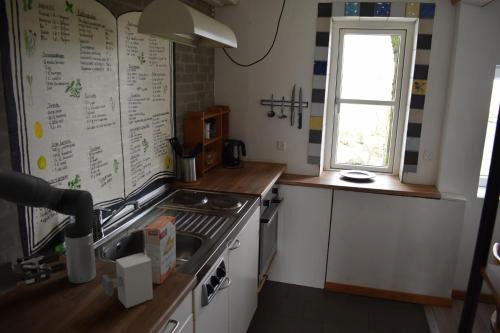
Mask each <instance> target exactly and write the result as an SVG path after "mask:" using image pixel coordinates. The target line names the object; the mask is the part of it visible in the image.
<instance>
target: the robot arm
mask: <svg viewBox="0 0 500 333" xmlns="http://www.w3.org/2000/svg"><path fill="white" fill-rule="evenodd" d="M0 200H3V201H6V202H9V203H12V204H16V205H18V206H19V205H20V206H24V207H28V208H34V209H35V208H36V209H40V208H41V209H42V208H44V209H47V210H51V211H54V212H56V213H58V214H61V215H63V216H69V217H70V216H71V217H74V222H71V223H69V224H67V225H65V226H64V228H63V233H64V245H65V256H66V262H64V261H63V262H59V261H60V259H61V258H60V254H59V253H52V254H50V255H45V256H44V255H41V254H40V253H38V254H32V255H27V256H24V257H23V256H22V257H18V258H16V260H15V261H16V262H15V263H16V264H15V263H13V261H12V260H6V261H2V262H0V293H1V294H2V293H3V292H7V291H12V290H14V289H16V288H17V286H18V283H21V282H25V286H26V287H31V286H33V285H37V284H39V283H43V282H46V281H49V280H51V278H52V277H51V276H53V274H57V273H61V272H64V271H66V270H67V276H68V281H69V282H70V283H72V284H84V283H87V282H90V281H92V280H93V279H95V277H96V276H97V272H96V271H97V270H96V259H95V246H94V232H93V228H94V223H95V222H94V219H95V218H94V198H93V195H92V194H91V192H90V191H88V190H86V189H85V190H83V189H75V188H61V187H56V186H52V185H51V184H50V182H48V181H47V180H45V179H44V178H42V177H39V176H36V175H33V174H29V173H25V172H22V171H16V170H12V169H9V168H3V167H0ZM57 262H59V263H57ZM52 263H56V264H52ZM49 264H52V265H49ZM45 265H46V266H45ZM47 265H48V266H47Z"/></svg>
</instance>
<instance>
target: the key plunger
mask: <svg viewBox="0 0 500 333" xmlns="http://www.w3.org/2000/svg"><path fill="white" fill-rule="evenodd" d="M101 278H102V280H101V281H102V290H103V292H104V293H105V294H106V295H107V297H108V298H109V297H112V296H114V289H115V288H118V286H121V285H123V279H122V278H121V277H118V278H117V277H115V278H111V277H110V276H109V275H108V274H107V273H106V274H104V275H101Z"/></svg>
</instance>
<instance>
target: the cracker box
mask: <svg viewBox="0 0 500 333" xmlns="http://www.w3.org/2000/svg"><path fill="white" fill-rule="evenodd" d="M176 239H177V238H176V216H170V215H169V216H167V215H161V216H159V218H157V219H156V220H155V221H153V222H152V223H151V224H150V225H149V226H147V227H146V228H145V255H146V256H147V257H148V258H149V259H151V266H152V284H157V285H162V284H163V283H164V281H165V280H166V279H167V278H168V276H170V274H171V273H172V272H173V271H174V270H175V269H176V267H177V265H176V264H177V262H176V260H177V255H176V254H177V253H176V252H177V250H176V249H177V248H176V242H177V240H176Z"/></svg>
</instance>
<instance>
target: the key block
mask: <svg viewBox="0 0 500 333" xmlns="http://www.w3.org/2000/svg"><path fill="white" fill-rule="evenodd" d="M115 267H116V278H118V277H121V278H122V279H123V285H121V286H118V287H117V297H118V300H119V301H120V302H121V303H122V305H123V307H125V308H126V309H128V308H132V307H134V306H137V305H140V304H142V303H145V302H147V300H148V301H149V300H153V298H154V297H153V294H154V293H153V290H154V289H153V283H152V266H151V259H149V258H148V257H147V256H146V253H144V252H138V253H135V254H132V255H127V256H125V257H122V258H121V257H120V258H118V259H115Z"/></svg>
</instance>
